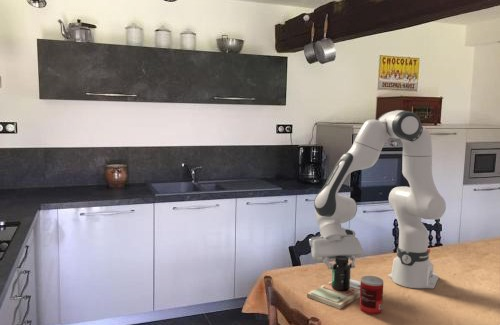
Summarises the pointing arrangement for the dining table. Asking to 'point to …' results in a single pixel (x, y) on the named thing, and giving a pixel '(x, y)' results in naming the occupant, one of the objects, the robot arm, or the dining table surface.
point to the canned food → (371, 294)
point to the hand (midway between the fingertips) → (341, 268)
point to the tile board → (336, 294)
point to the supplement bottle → (341, 274)
